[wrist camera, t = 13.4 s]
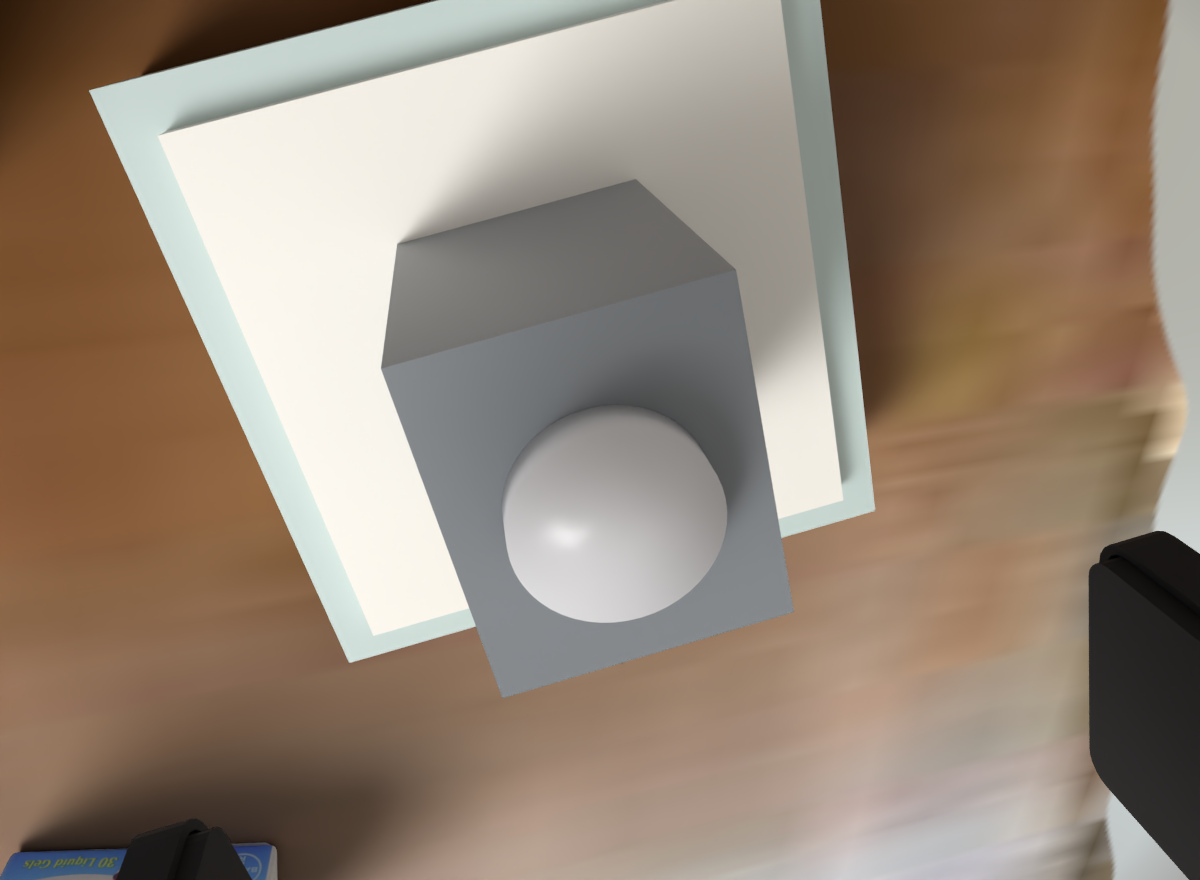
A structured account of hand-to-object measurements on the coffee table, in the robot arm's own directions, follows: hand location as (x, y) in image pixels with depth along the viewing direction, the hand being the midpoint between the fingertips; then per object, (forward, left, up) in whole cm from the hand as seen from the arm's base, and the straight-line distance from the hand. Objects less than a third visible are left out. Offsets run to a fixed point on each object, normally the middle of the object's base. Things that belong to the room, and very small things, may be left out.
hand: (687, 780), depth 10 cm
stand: (+1, 0, -16) cm, 16 cm away
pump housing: (+1, 0, -12) cm, 12 cm away
